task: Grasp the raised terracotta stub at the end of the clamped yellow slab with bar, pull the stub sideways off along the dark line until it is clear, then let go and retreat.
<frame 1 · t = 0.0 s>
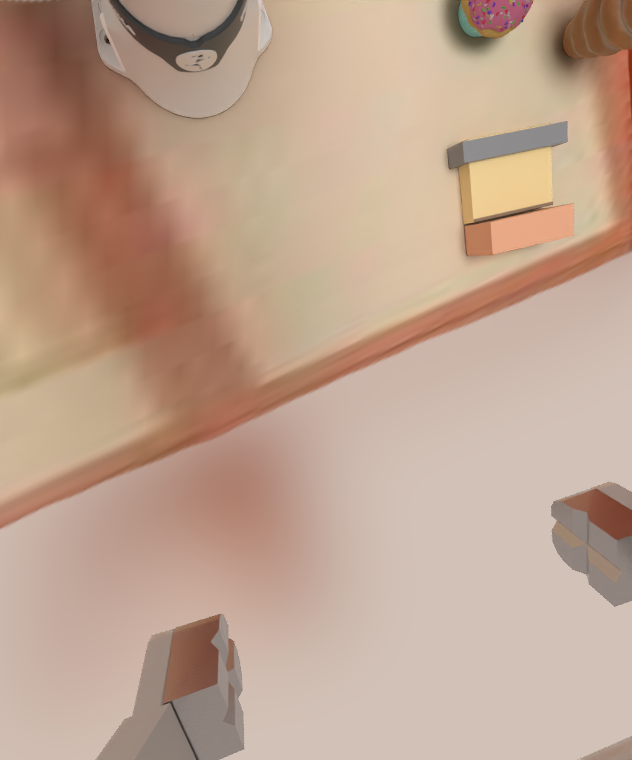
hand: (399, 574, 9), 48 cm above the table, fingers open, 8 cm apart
cupcake: (474, 13, 50), on the table
cat ice cream: (567, 46, 53), on the table
yellow slab with bar: (499, 177, 56), on the table
stub: (517, 230, 55), point 3 cm above the table, slide at 0.0 cm
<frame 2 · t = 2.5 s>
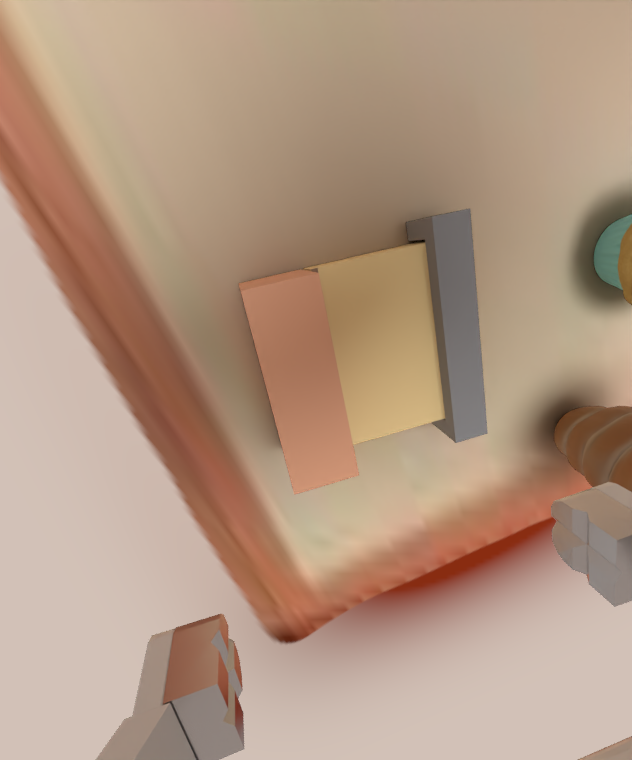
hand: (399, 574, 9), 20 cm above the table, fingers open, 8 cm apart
cupcake: (619, 251, 31), on the table
cat ice cream: (562, 422, 34), on the table
yellow slab with bar: (389, 338, 29), on the table
stub: (297, 376, 25), point 3 cm above the table, slide at 0.0 cm
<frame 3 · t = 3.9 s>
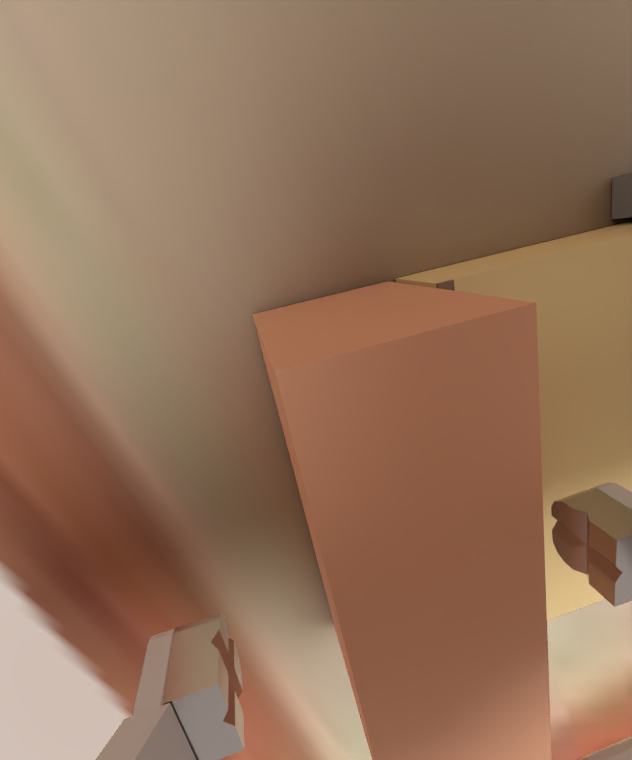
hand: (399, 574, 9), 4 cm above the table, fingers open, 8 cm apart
yellow slab with bar: (550, 415, 14), on the table
stub: (393, 536, 11), point 3 cm above the table, slide at 0.0 cm
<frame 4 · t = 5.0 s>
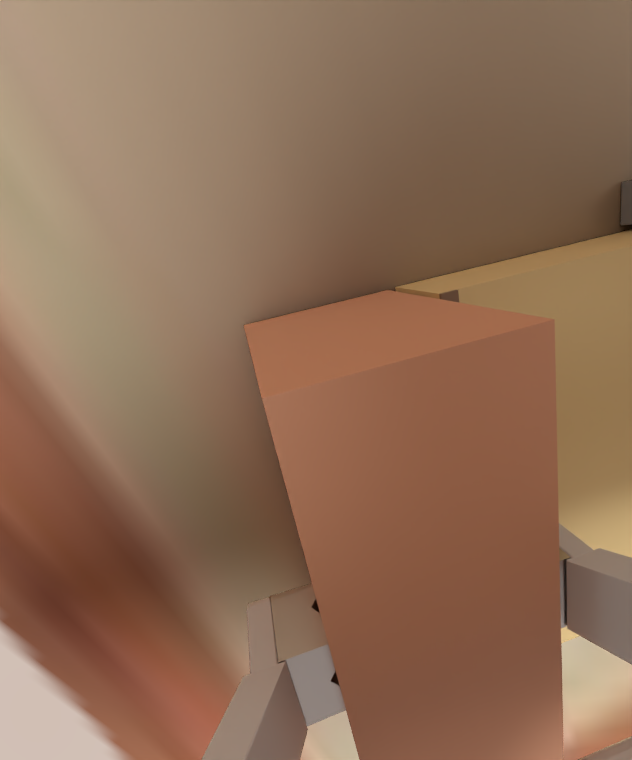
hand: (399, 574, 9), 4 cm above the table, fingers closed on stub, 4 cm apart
yellow slab with bar: (557, 429, 14), on the table
stub: (393, 563, 10), point 3 cm above the table, slide at 0.0 cm, touching gripper
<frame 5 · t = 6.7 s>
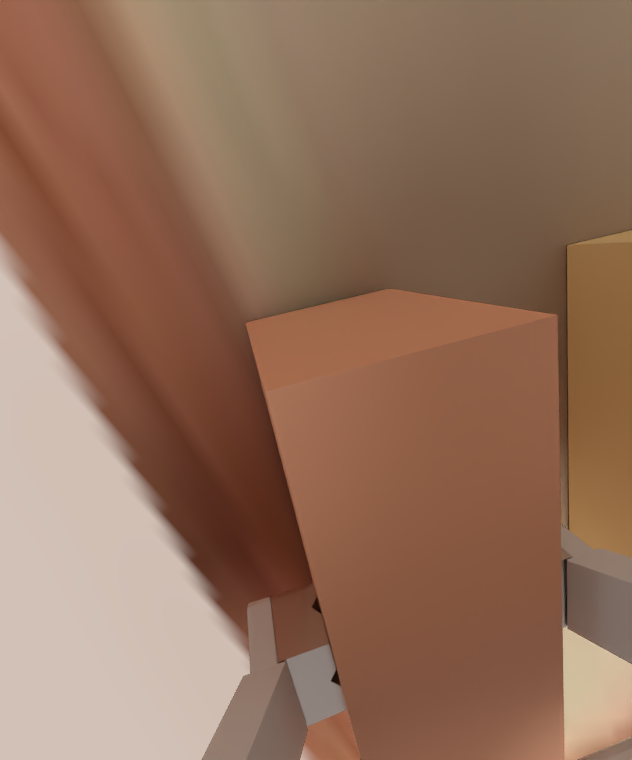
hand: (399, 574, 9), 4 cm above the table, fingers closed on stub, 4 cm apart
stub: (394, 561, 10), point 3 cm above the table, slide at 5.4 cm, touching gripper
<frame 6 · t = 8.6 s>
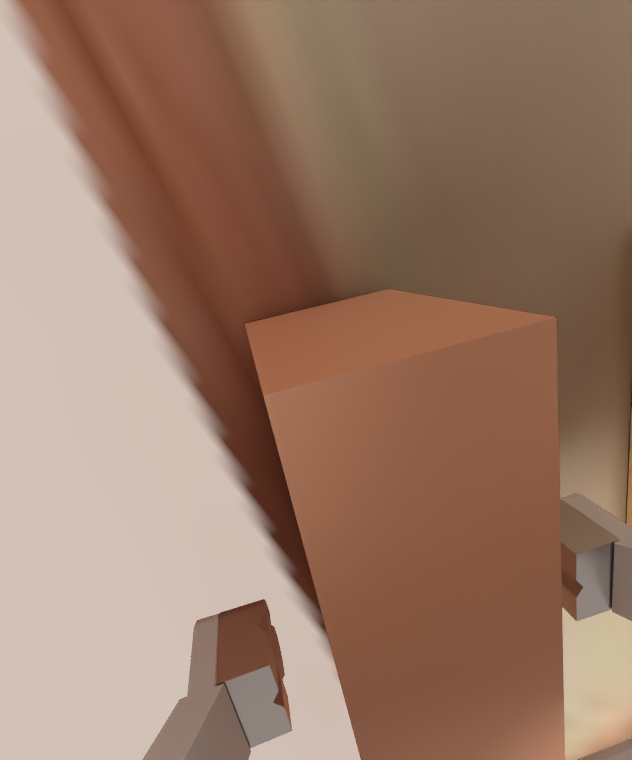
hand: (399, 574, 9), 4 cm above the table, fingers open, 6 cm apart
stub: (394, 562, 10), point 3 cm above the table, slide at 7.9 cm
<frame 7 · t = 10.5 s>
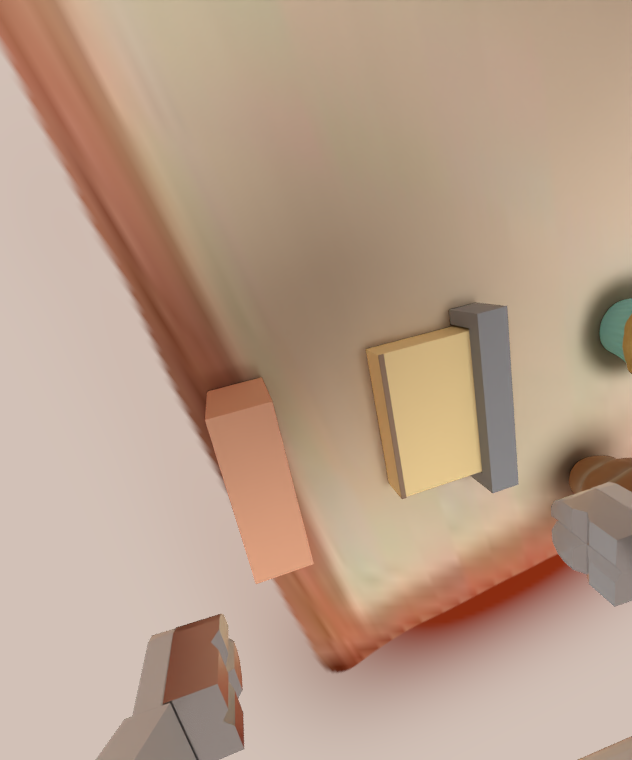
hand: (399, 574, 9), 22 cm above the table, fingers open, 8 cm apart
cupcake: (619, 326, 37), on the table
cat ice cream: (575, 467, 40), on the table
yellow slab with bar: (433, 403, 34), on the table
stub: (258, 475, 28), point 3 cm above the table, slide at 7.9 cm
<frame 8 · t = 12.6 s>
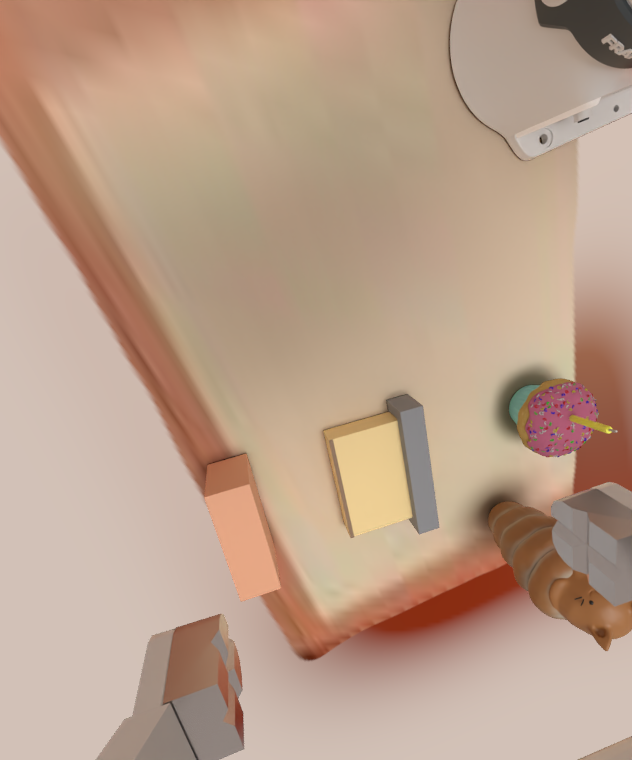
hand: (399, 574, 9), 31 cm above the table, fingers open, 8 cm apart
cupcake: (526, 403, 47), on the table
cat ice cream: (495, 508, 51), on the table
yellow slab with bar: (377, 466, 45), on the table
stub: (243, 525, 40), point 3 cm above the table, slide at 7.9 cm
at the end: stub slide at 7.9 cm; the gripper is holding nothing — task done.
